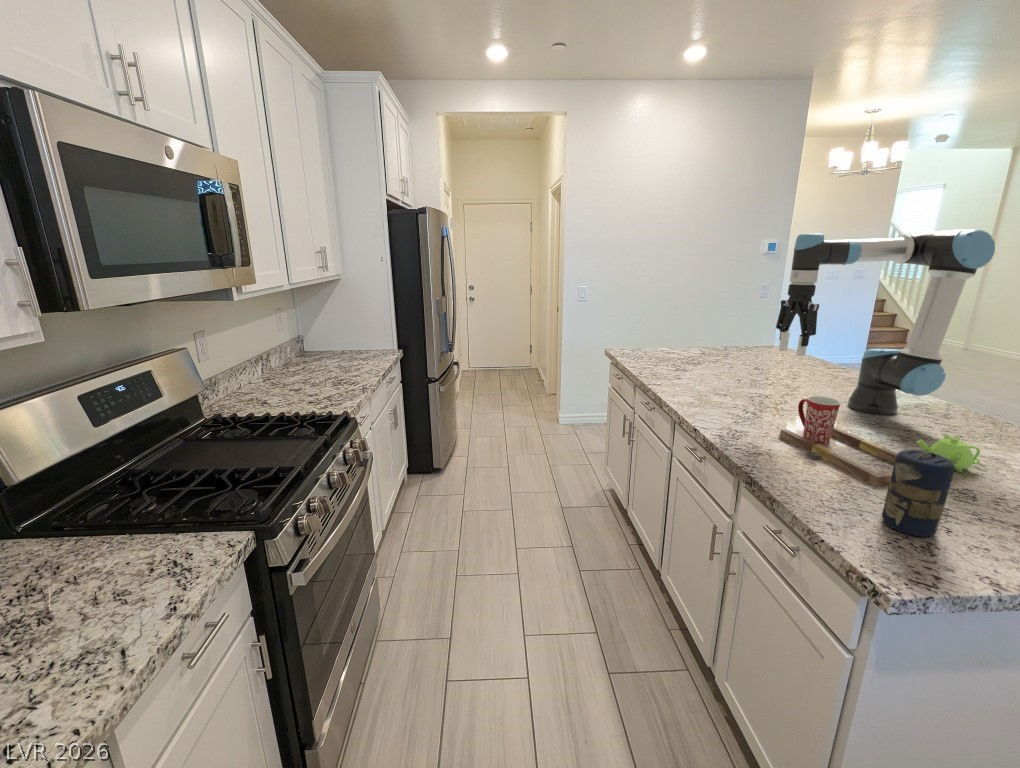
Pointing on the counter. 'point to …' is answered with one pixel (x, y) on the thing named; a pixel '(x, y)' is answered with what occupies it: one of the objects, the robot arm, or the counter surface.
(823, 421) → the mug
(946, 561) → the counter surface
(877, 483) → the beam slot
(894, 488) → the canister
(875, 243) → the robot arm
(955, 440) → the teapot
